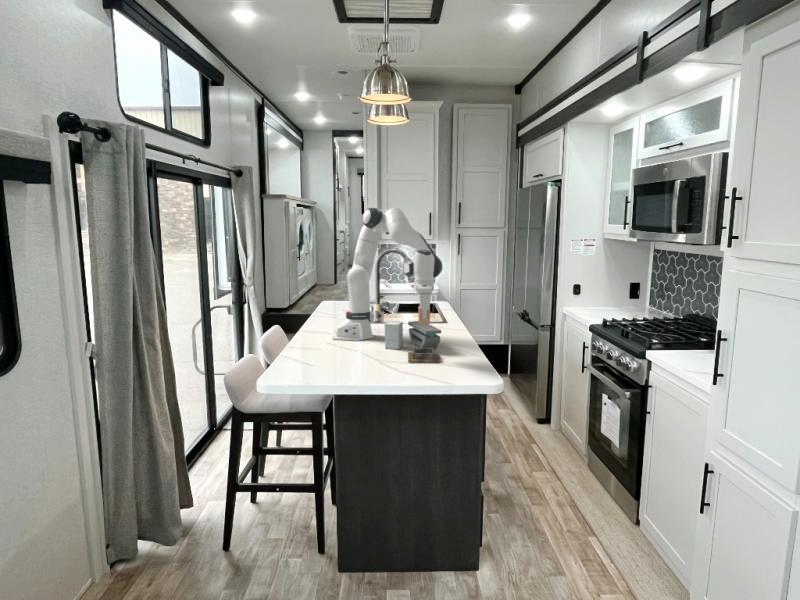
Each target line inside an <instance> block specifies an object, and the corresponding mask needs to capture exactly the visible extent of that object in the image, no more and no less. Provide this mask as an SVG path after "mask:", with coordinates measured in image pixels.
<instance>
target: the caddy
mask: <svg viewBox="0 0 800 600" xmlns="http://www.w3.org/2000/svg"><path fill="white" fill-rule="evenodd" d="M411 350H412V351H408V352H407V356H408V357H407V358H408V359H407V360H408V363H409V362H410V363H409V364H422V363H423V364H440V363H441V359H440V356H439V352H437V351H435V349H434V348H416V347H412V349H411ZM408 363H407V364H408Z"/></svg>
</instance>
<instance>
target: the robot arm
mask: <svg viewBox="0 0 800 600" xmlns="http://www.w3.org/2000/svg"><path fill="white" fill-rule="evenodd" d="M361 217H362V219H361V221H362V227H361V230H360V232H359V235H358V238H357V243H356V246H355V250H354V255H353V263H352V267H351V268H350V269H348V271H347V274H346V280H347V288H348V289H347V291H348V299H349V310H347V311H346V312H345V318H344V319H343V320H342V321H341V322H339V323H338V325H337V326H336V329H335V333H332V334H331V340H334V341H336V340H337V341H355V342H359V341H360V342H361V341H363V340H369V339H373V337H374V335H373V331H372V330H373V329H372V325H371V323H372V312H371V298H370V297H371V296H370V289H369V281H370V280H371V277H372V274H373V269H374V263H375V257H376V254H377V251H378V247H379V242H380V239H381V236H382V234H384V233H385V234H386V235H389V236H390V238H391V240H392V241H393V242H395V243H396V244H399V245H402V246H408V247H411V248H413V249H415V250H416V251H415V253H414V254H413V255H412V256H409V257H407V258H406V259H405V260H404V262H403V264H402V270H403V274H404V275H405V276H406V277H407V278H412V279H414V280H413V281H414V282H413V285H414V287H413V291H415V292H417V293H416V294H417V295H418V299H419V302H418V303H419V306H420V307H421V310H422V318H423V319H426V318H427V310H429V308H430V309H431V307H430V306H431V296H432V293H433V292H434V291H435V279H434V278H437V277H438V276H439V275H440V274H441V273H442V271H443V263H442V261H441V259H440V257H439V256H438V255H437V254H435V252H434V251H433V250H432V248H431V246H430V245H429V243H428V242H427V241H426V239H425V238H424V236H423V235H422V234H421V233H420V232H419V231H417V230H415V228H413V226H412V225H411V223H410V221H409V219H408V218H407V217H406V214H405V213H404V212H403V210H402V209H401V208H400V207H399V208H398V207H391V208H389V209H388V210H387V209H379V208H377V207H368V208H367V209H365V211H364V212H363V214H362V216H361Z"/></svg>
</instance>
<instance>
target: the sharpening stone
mask: <svg viewBox="0 0 800 600" xmlns="http://www.w3.org/2000/svg"><path fill="white" fill-rule="evenodd" d="M407 325H408V326H409V328H408V333H409V338H410V340H411V344H412V346H413V345H414V346H413V347H414V348H416V347H417V348H434V350H436V349H437V347H438V346H439V344H440V342H441V336H440V335H439V334H442V330H441V329H439V328H438V327H436V326H433V325H432V324H431V323H430V324H419V320H414V321H413V320H411V321H408V322H407ZM411 327H412V328H411Z"/></svg>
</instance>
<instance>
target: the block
mask: <svg viewBox="0 0 800 600" xmlns="http://www.w3.org/2000/svg"><path fill="white" fill-rule="evenodd" d="M417 309H418V321H419V324H430V325H431V307H430V308H429V310H427V318H426V319H423V318H422V310H421V307H420V305H418V308H417Z"/></svg>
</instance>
